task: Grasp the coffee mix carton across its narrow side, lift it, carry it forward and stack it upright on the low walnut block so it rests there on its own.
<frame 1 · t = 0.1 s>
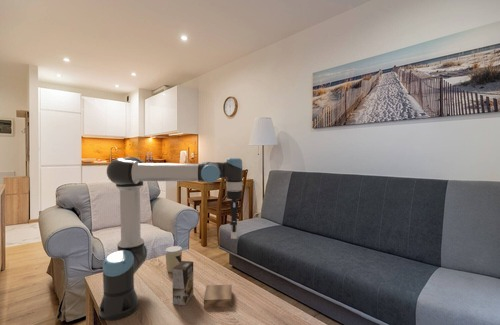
hand: (234, 233, 127), 28 cm above the table, fingers open, 13 cm apart
walnut block: (218, 300, 120), on the table
coffee cup: (173, 269, 149), on the table
coffee box: (183, 299, 120), on the table
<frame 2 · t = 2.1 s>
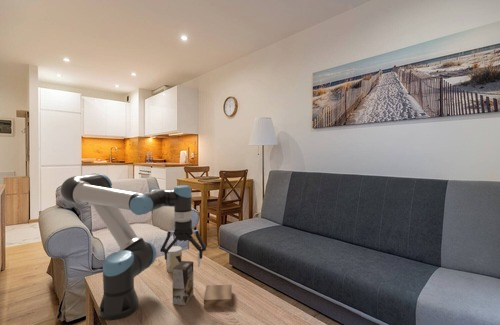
hand: (183, 266, 119), 16 cm above the table, fingers open, 13 cm apart
nothing on the table moved.
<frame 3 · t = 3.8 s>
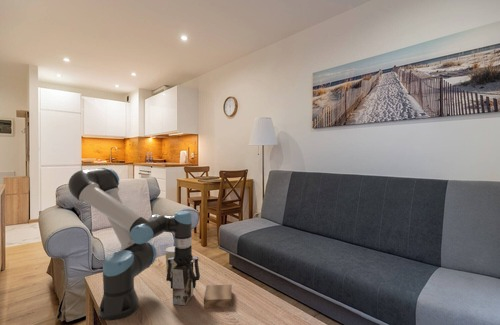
hand: (183, 294, 120), 2 cm above the table, fingers closed on coffee box, 7 cm apart
coffee box: (183, 299, 120), on the table, touching gripper
everything else where it was.
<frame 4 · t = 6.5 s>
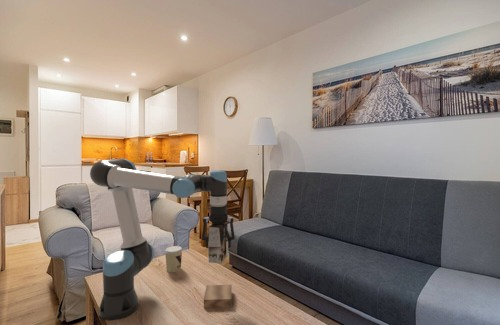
hand: (218, 254, 119), 21 cm above the table, fingers closed on coffee box, 7 cm apart
coffee box: (218, 259, 119), point 19 cm above the table, touching gripper
everything else where it was.
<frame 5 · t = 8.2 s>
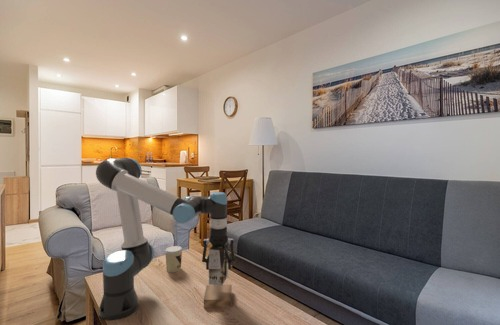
hand: (218, 275, 119), 11 cm above the table, fingers closed on coffee box, 7 cm apart
coffee box: (218, 280, 119), point 9 cm above the table, touching gripper
everything else where it was.
when the fingers open (7 cm above the table, at t = 9.4 s): coffee box drops 1 cm, resting on walnut block.
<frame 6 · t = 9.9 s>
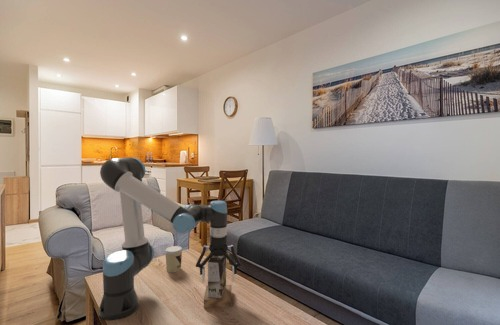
hand: (218, 281, 119), 9 cm above the table, fingers open, 13 cm apart
walnut block: (218, 300, 120), on the table, touching coffee box
coffee box: (217, 292, 120), point 3 cm above the table, touching walnut block
everything else where it was.
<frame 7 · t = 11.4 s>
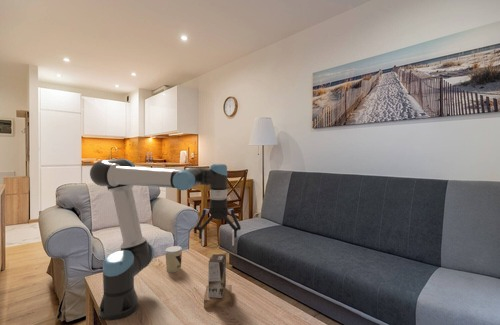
hand: (218, 244, 119), 26 cm above the table, fingers open, 13 cm apart
nothing on the table moved.
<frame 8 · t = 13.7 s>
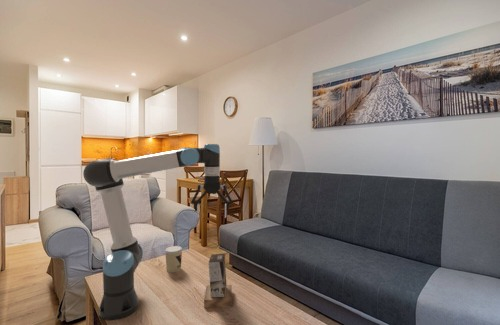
hand: (211, 217, 131), 35 cm above the table, fingers open, 13 cm apart
at the end: coffee box 0.3 cm from the walnut block (horizontally); coffee box point 3.4 cm above the table; coffee box tilted 4° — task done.
